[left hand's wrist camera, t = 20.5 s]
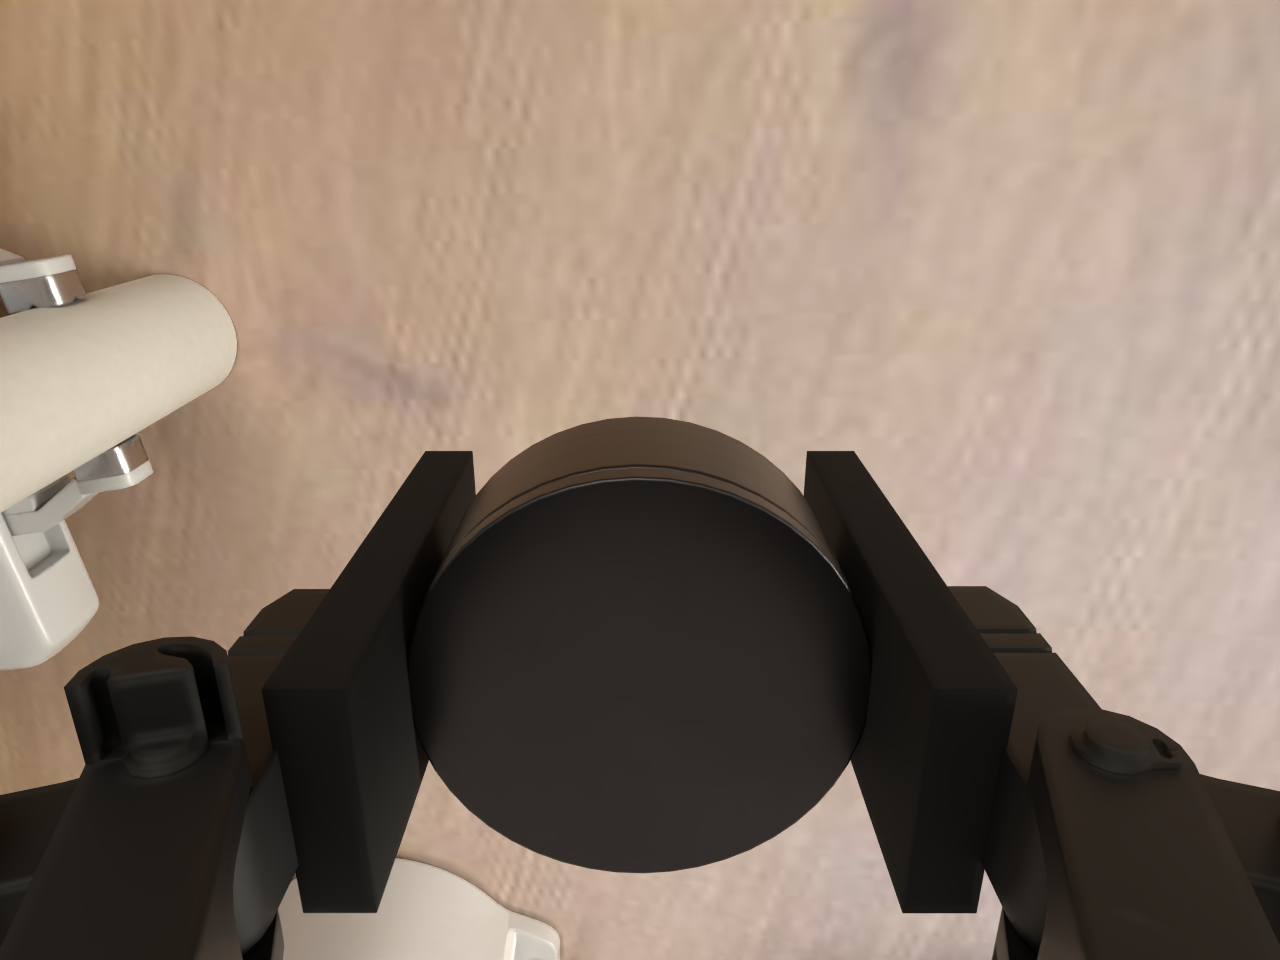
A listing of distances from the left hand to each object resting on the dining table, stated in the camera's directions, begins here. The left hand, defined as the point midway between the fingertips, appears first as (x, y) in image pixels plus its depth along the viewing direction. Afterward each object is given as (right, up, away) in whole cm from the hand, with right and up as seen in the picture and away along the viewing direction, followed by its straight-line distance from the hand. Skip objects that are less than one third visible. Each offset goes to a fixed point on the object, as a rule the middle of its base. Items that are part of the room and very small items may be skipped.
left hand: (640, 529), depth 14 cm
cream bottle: (-19, +7, +21) cm, 29 cm away
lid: (0, -2, -4) cm, 4 cm away
